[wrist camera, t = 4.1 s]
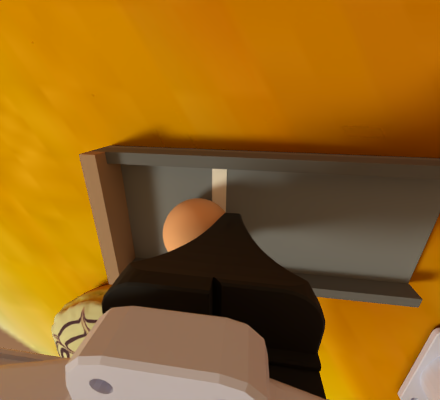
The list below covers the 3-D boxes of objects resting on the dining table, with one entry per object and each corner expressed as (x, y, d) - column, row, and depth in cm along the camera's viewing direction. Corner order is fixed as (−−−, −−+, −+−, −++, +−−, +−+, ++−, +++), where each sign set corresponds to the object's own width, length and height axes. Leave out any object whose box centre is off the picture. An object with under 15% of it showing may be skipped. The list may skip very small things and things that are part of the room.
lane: (451, 158, 11) (507, 173, 9) (398, 284, 14) (429, 319, 12) (110, 145, 13) (78, 154, 11) (130, 257, 16) (109, 284, 14)
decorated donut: (65, 328, 21) (28, 373, 17) (97, 250, 17) (56, 288, 13) (164, 377, 22) (147, 428, 18) (217, 314, 17) (209, 365, 14)
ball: (161, 222, 9) (159, 190, 12) (166, 289, 10) (163, 245, 14) (244, 214, 10) (223, 187, 13) (238, 277, 11) (220, 238, 14)
